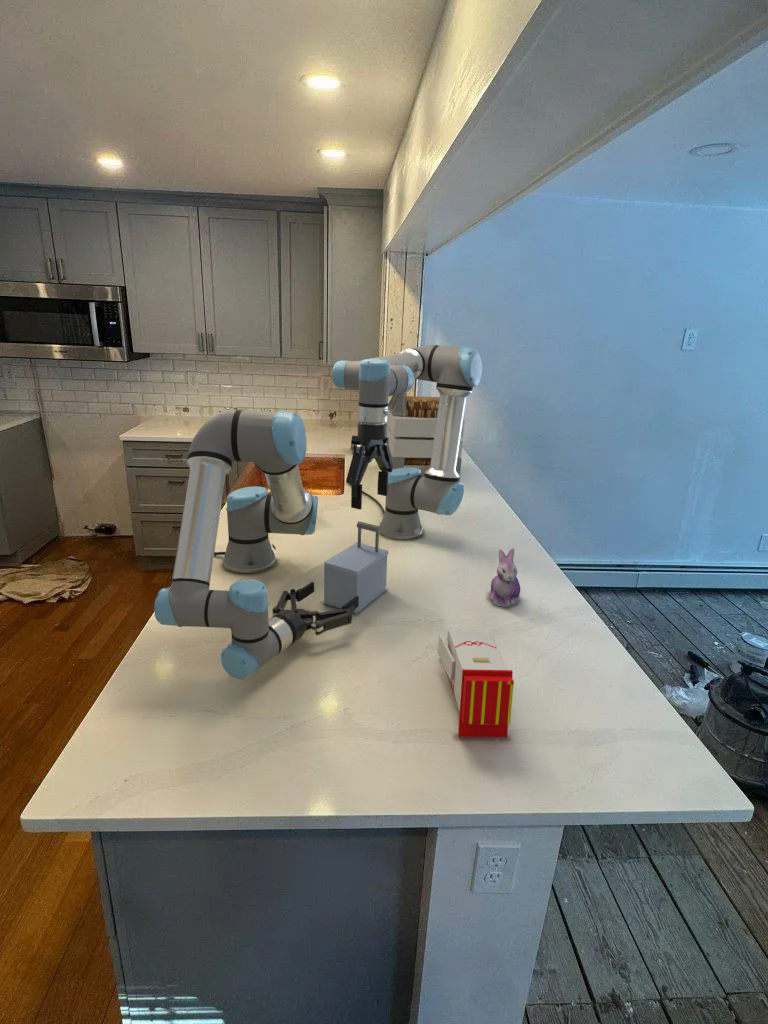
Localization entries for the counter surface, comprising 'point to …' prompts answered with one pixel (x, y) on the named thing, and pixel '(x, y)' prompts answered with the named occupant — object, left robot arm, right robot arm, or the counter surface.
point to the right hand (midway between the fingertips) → (369, 501)
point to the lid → (358, 553)
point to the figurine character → (355, 441)
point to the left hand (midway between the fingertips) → (334, 593)
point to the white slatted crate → (414, 430)
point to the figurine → (505, 581)
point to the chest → (354, 585)
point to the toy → (478, 682)
